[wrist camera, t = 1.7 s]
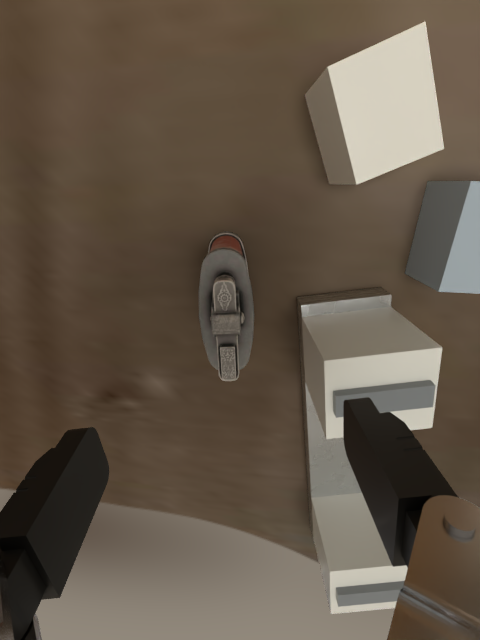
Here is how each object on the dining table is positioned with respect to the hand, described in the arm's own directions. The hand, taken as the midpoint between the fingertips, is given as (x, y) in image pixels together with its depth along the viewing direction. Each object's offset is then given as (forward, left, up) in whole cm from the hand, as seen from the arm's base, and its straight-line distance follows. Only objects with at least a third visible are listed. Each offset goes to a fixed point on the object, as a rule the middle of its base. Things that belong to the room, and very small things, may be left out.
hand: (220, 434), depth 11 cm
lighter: (0, 0, -18) cm, 18 cm away
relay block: (+10, +10, -18) cm, 23 cm away
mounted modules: (+9, -16, -16) cm, 24 cm away
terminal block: (+17, +2, -18) cm, 25 cm away
